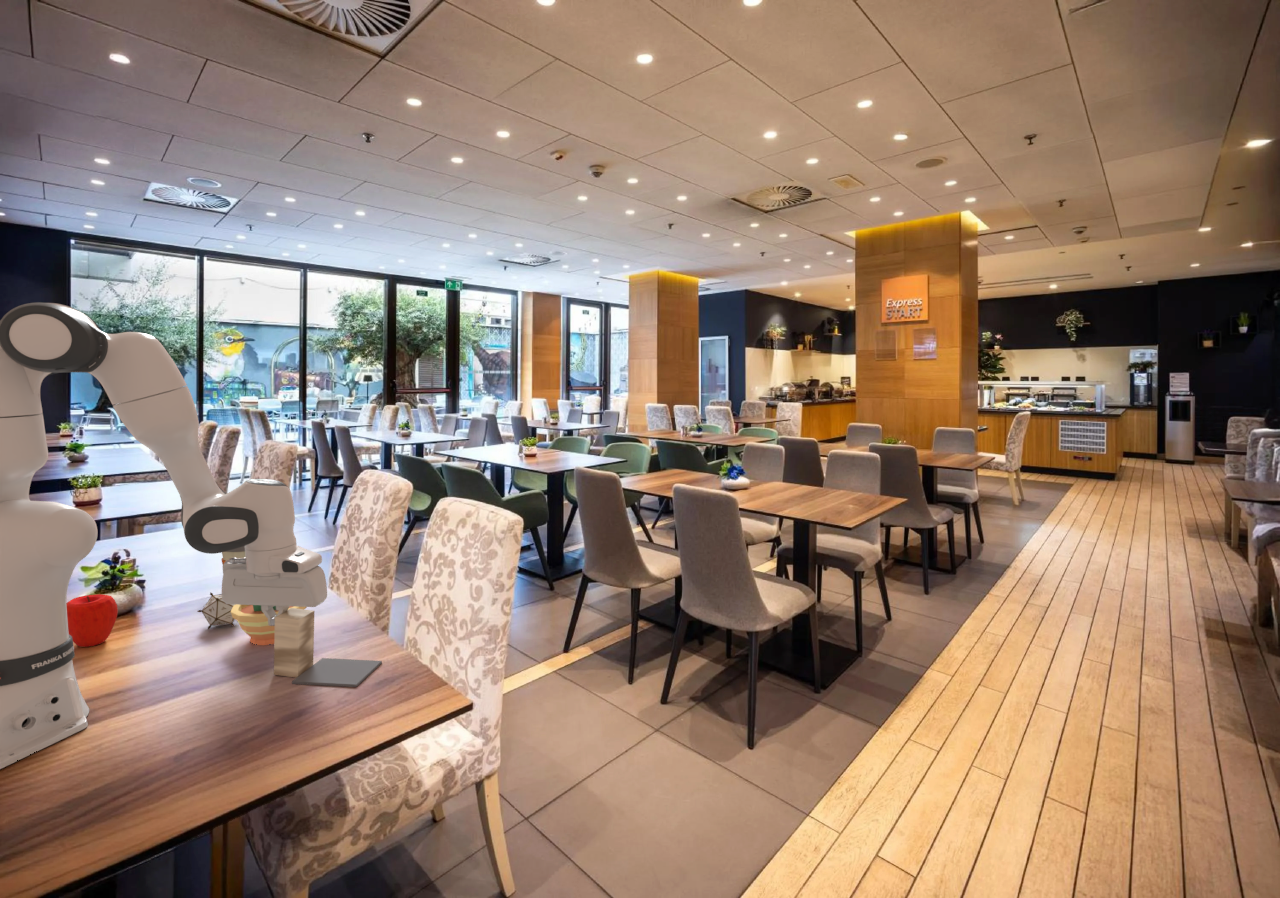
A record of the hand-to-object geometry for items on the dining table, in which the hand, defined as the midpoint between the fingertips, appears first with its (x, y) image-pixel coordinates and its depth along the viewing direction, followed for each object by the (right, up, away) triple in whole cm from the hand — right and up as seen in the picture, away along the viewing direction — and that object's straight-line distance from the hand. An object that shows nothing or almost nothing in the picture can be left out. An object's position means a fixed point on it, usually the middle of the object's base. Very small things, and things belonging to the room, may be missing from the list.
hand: (276, 625), depth 123 cm
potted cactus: (-11, -8, +16) cm, 21 cm away
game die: (-26, -7, +22) cm, 35 cm away
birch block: (+3, -9, 0) cm, 10 cm away
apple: (-48, -8, +12) cm, 50 cm away
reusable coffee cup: (-36, -4, +48) cm, 61 cm away
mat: (+13, -10, 0) cm, 16 cm away
